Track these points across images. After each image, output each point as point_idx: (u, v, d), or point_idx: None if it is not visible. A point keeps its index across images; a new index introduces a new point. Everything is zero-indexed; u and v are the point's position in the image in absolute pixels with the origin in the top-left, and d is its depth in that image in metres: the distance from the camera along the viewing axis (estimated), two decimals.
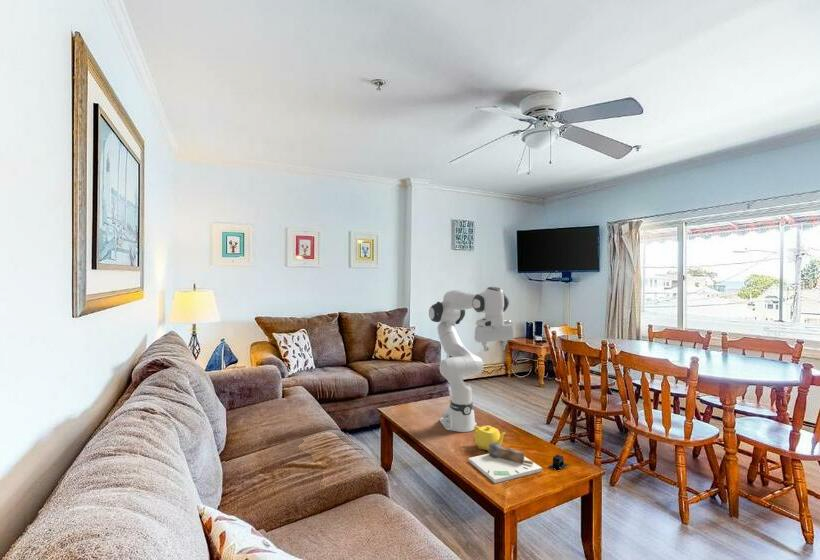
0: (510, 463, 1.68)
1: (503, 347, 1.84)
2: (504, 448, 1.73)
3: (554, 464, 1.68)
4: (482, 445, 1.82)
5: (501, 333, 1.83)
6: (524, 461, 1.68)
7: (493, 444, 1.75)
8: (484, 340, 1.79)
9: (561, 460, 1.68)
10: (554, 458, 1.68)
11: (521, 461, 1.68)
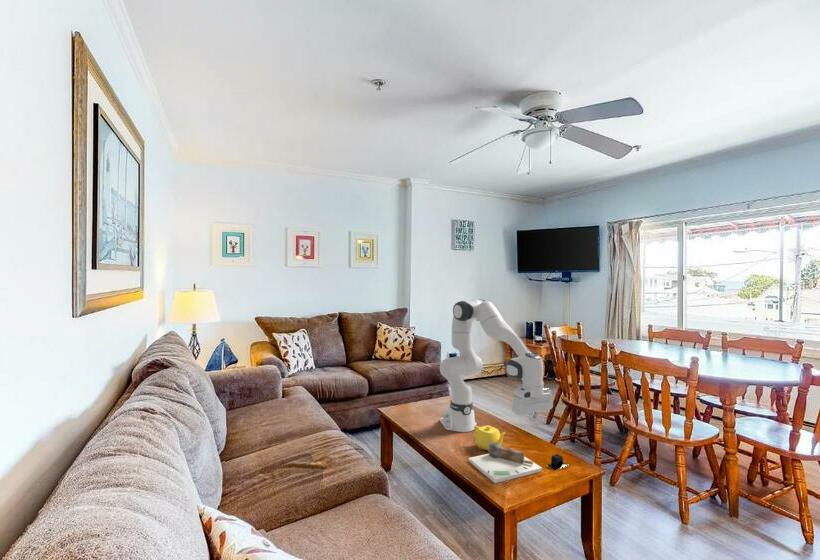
0: (510, 463, 1.68)
1: (535, 419, 1.71)
2: (504, 448, 1.73)
3: (552, 463, 1.69)
4: (482, 445, 1.82)
5: (540, 403, 1.71)
6: (524, 461, 1.68)
7: (493, 444, 1.75)
8: (523, 412, 1.68)
9: (559, 459, 1.68)
10: (552, 457, 1.69)
11: (521, 461, 1.68)
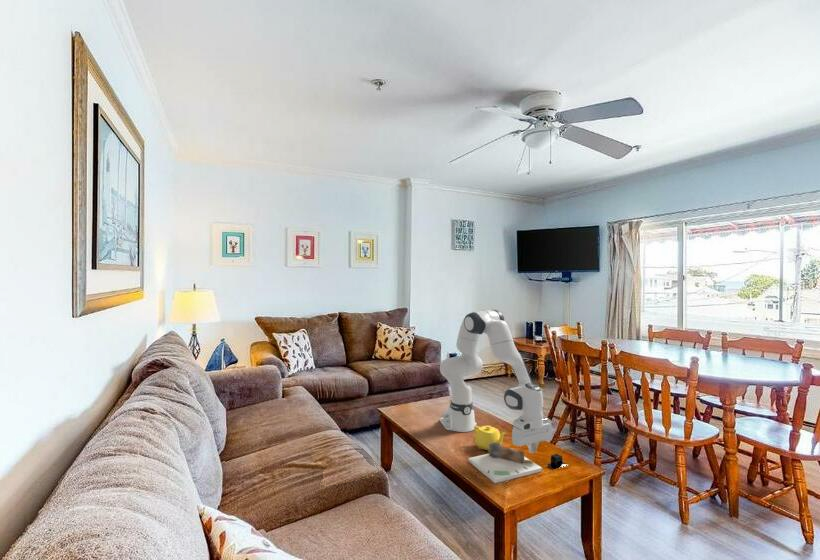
0: (510, 463, 1.68)
1: (534, 449, 1.72)
2: (504, 448, 1.73)
3: (552, 462, 1.70)
4: (482, 445, 1.82)
5: (540, 434, 1.72)
6: (524, 461, 1.68)
7: (493, 444, 1.75)
8: (522, 444, 1.68)
9: (559, 459, 1.69)
10: (552, 457, 1.70)
11: (521, 461, 1.68)
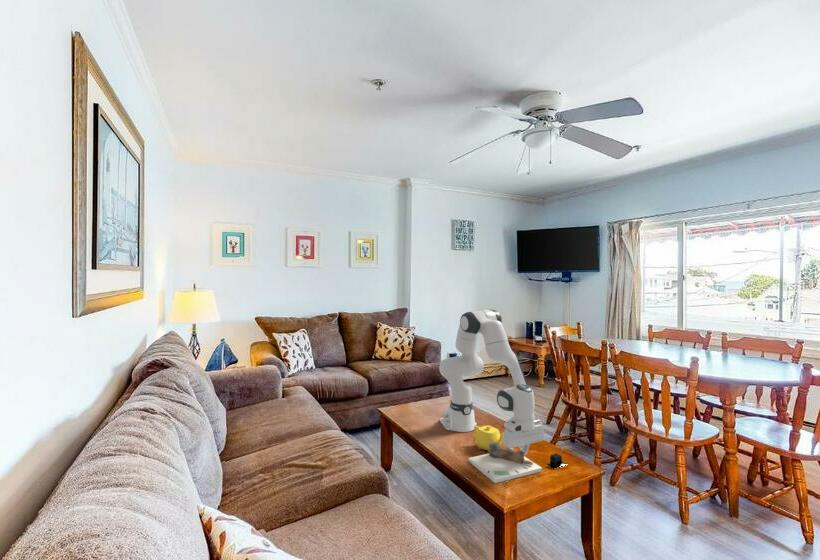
0: (510, 463, 1.68)
1: (525, 451, 1.70)
2: (504, 448, 1.73)
3: (551, 462, 1.70)
4: (482, 445, 1.82)
5: (531, 435, 1.70)
6: (524, 461, 1.67)
7: (493, 444, 1.75)
8: (514, 446, 1.66)
9: (558, 459, 1.69)
10: (551, 456, 1.70)
11: (521, 461, 1.67)
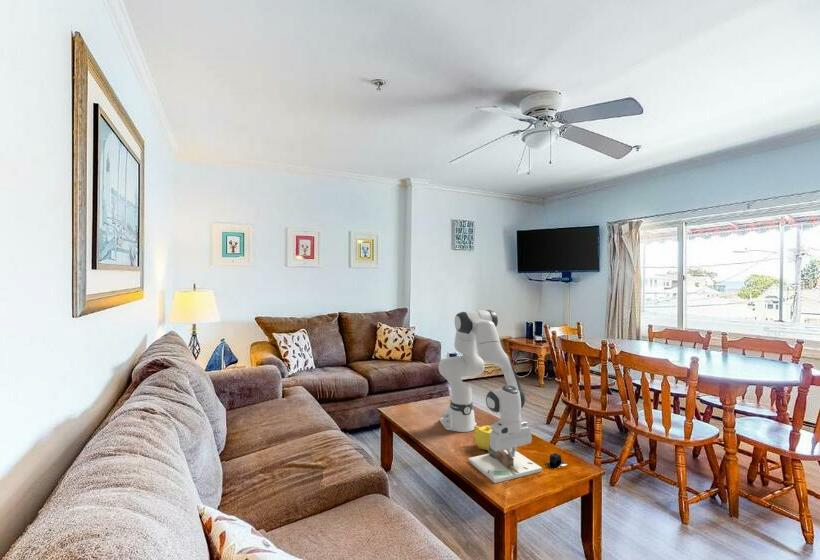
0: None
1: (512, 454, 1.66)
2: None
3: (551, 462, 1.70)
4: (482, 445, 1.82)
5: (518, 438, 1.66)
6: (511, 467, 1.62)
7: None
8: (500, 448, 1.62)
9: (558, 459, 1.69)
10: (551, 456, 1.70)
11: (507, 466, 1.63)
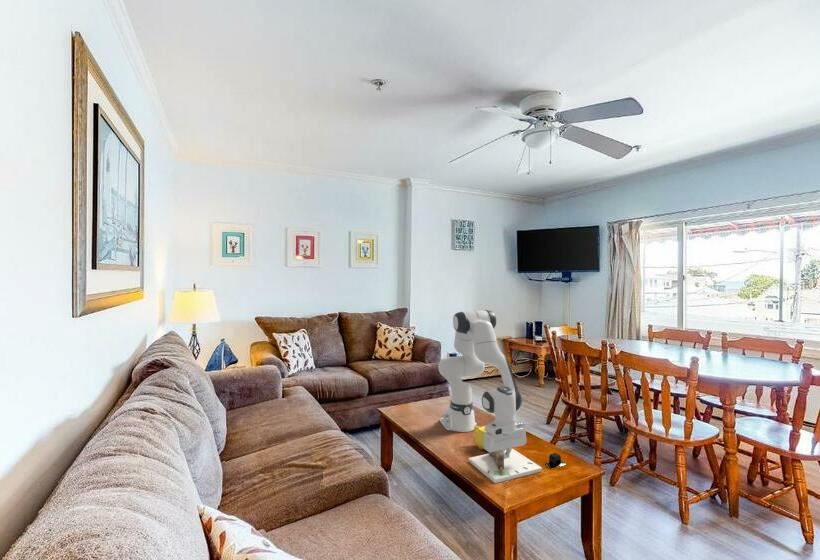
0: (510, 463, 1.68)
1: (507, 455, 1.65)
2: None
3: (550, 461, 1.70)
4: (482, 445, 1.82)
5: (513, 439, 1.65)
6: (500, 468, 1.62)
7: None
8: (494, 449, 1.62)
9: (557, 458, 1.70)
10: (550, 456, 1.71)
11: None
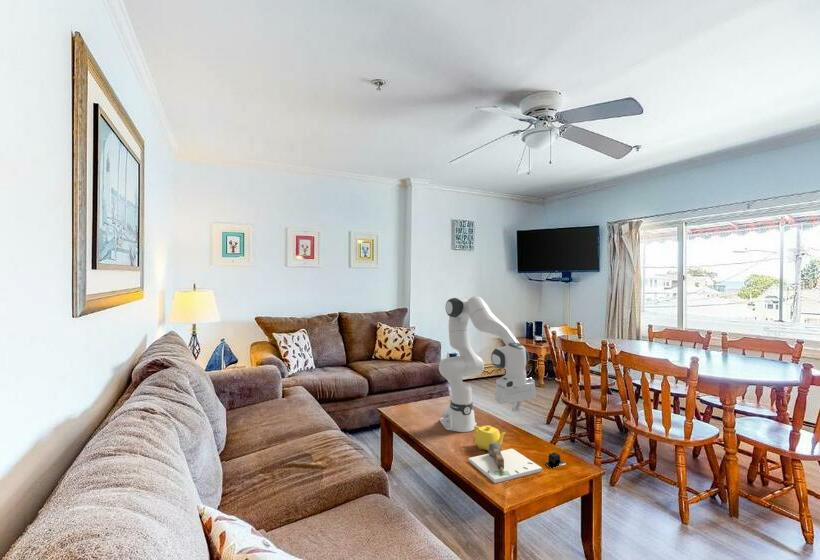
0: (510, 463, 1.68)
1: (518, 408, 1.72)
2: (496, 450, 1.71)
3: (549, 461, 1.71)
4: (482, 445, 1.82)
5: (523, 392, 1.71)
6: (500, 468, 1.62)
7: (494, 444, 1.76)
8: (505, 401, 1.68)
9: (557, 458, 1.70)
10: (550, 455, 1.71)
11: None
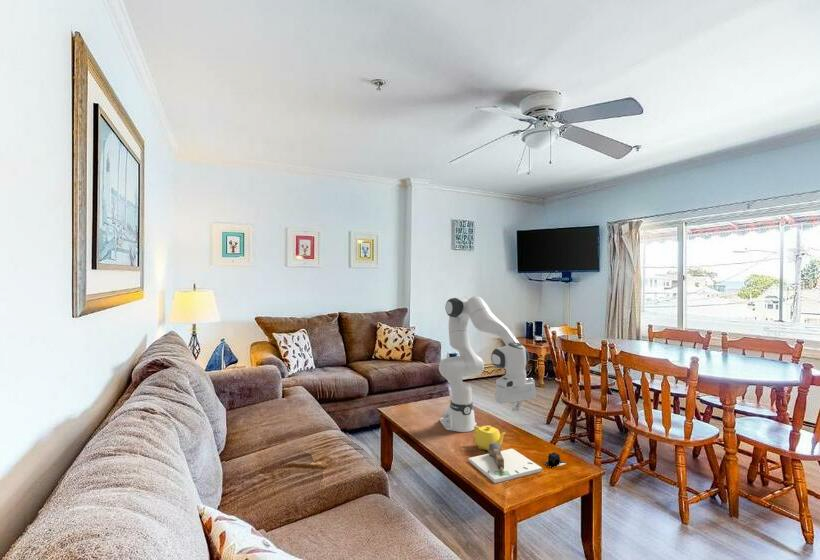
0: (510, 463, 1.68)
1: (518, 408, 1.72)
2: (496, 450, 1.71)
3: (549, 461, 1.71)
4: (482, 445, 1.82)
5: (523, 392, 1.71)
6: (500, 468, 1.62)
7: (494, 444, 1.76)
8: (505, 401, 1.68)
9: (556, 458, 1.70)
10: (549, 455, 1.71)
11: None
